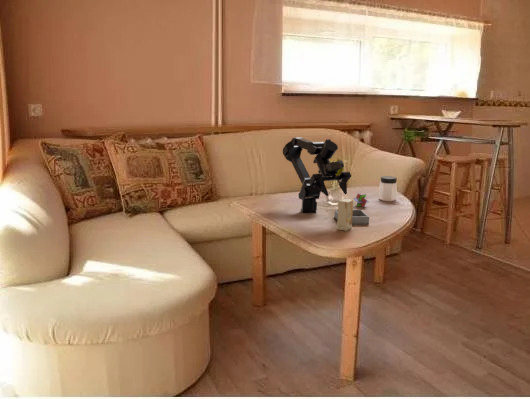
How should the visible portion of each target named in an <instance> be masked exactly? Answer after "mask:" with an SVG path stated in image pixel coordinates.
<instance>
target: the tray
mask: <svg viewBox="0 0 530 399" xmlns="http://www.w3.org/2000/svg"><path fill="white" fill-rule="evenodd" d="M334 218H335V219H336V221H337V222H338V209H334ZM353 225H361V226H363V225H370V216H369V215H368V214H367V213H366V212H364V211H363V210H362V209H353V214H352V226H353Z"/></svg>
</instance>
